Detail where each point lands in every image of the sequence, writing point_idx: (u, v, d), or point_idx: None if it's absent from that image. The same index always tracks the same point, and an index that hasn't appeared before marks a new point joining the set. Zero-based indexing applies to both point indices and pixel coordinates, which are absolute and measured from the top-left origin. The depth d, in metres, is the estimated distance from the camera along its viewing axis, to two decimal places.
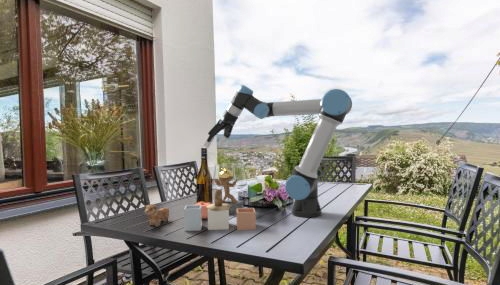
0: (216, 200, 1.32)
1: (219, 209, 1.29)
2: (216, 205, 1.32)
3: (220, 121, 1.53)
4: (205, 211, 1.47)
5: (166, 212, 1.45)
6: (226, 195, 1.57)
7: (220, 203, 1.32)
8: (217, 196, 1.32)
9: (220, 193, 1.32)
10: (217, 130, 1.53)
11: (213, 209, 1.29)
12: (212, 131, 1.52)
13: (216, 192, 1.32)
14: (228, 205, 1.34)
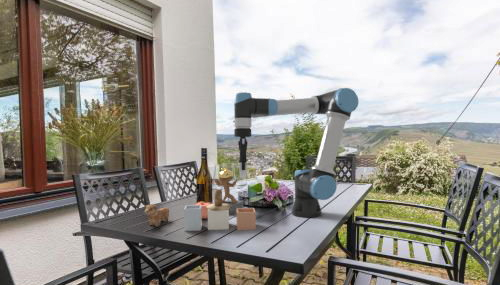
0: (216, 200, 1.32)
1: (219, 209, 1.29)
2: (216, 205, 1.32)
3: (242, 140, 1.27)
4: (205, 211, 1.47)
5: (166, 212, 1.45)
6: (226, 195, 1.57)
7: (220, 203, 1.32)
8: (217, 196, 1.32)
9: (220, 193, 1.32)
10: None
11: (213, 209, 1.29)
12: (243, 155, 1.24)
13: (216, 192, 1.32)
14: (228, 205, 1.34)
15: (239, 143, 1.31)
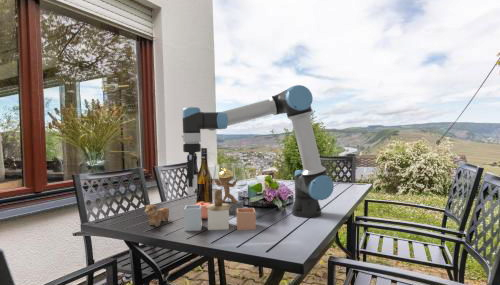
0: (216, 200, 1.32)
1: (219, 209, 1.29)
2: (216, 205, 1.32)
3: (190, 157, 1.25)
4: (205, 211, 1.47)
5: (166, 212, 1.45)
6: (226, 195, 1.57)
7: (220, 203, 1.32)
8: (217, 196, 1.32)
9: (220, 193, 1.32)
10: (193, 168, 1.24)
11: (213, 209, 1.29)
12: (190, 172, 1.22)
13: (216, 192, 1.32)
14: (228, 205, 1.34)
15: (188, 159, 1.29)
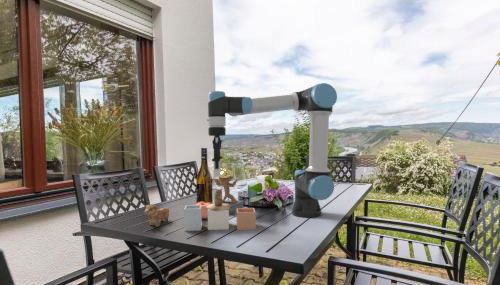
0: (216, 200, 1.32)
1: (219, 209, 1.29)
2: (216, 205, 1.32)
3: (216, 139, 1.26)
4: (205, 211, 1.47)
5: (166, 212, 1.45)
6: (226, 195, 1.57)
7: (220, 203, 1.32)
8: (217, 196, 1.32)
9: (220, 193, 1.32)
10: (219, 150, 1.26)
11: (213, 209, 1.29)
12: (216, 154, 1.24)
13: (216, 192, 1.32)
14: (228, 205, 1.34)
15: (213, 142, 1.31)
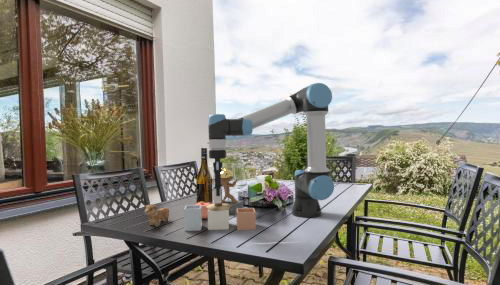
0: None
1: (219, 209, 1.29)
2: (216, 205, 1.32)
3: (217, 167, 1.27)
4: (205, 211, 1.47)
5: (166, 212, 1.45)
6: (226, 195, 1.57)
7: (220, 203, 1.32)
8: None
9: None
10: None
11: (213, 209, 1.29)
12: (217, 182, 1.28)
13: None
14: (228, 205, 1.34)
15: (214, 166, 1.31)
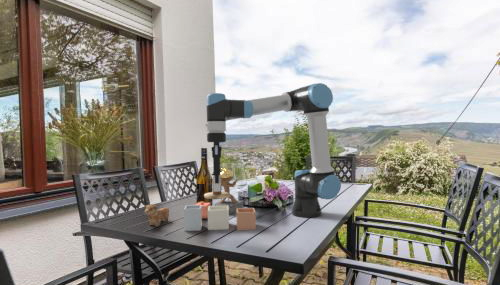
0: None
1: (218, 197, 1.17)
2: (215, 193, 1.20)
3: (215, 151, 1.15)
4: (205, 211, 1.47)
5: (166, 212, 1.45)
6: None
7: None
8: None
9: None
10: (219, 162, 1.17)
11: (211, 197, 1.17)
12: (216, 168, 1.16)
13: None
14: (228, 193, 1.22)
15: (212, 150, 1.19)
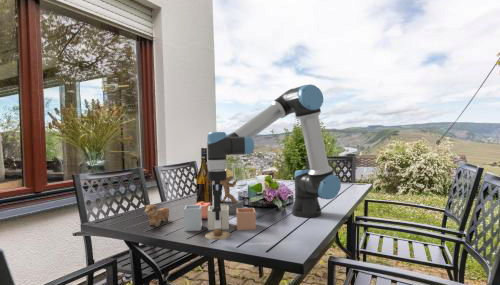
0: (215, 229, 1.20)
1: None
2: (216, 235, 1.20)
3: (216, 187, 1.15)
4: (205, 211, 1.47)
5: (166, 212, 1.45)
6: (226, 195, 1.57)
7: (220, 232, 1.21)
8: None
9: None
10: (220, 199, 1.14)
11: None
12: (217, 204, 1.12)
13: None
14: (229, 234, 1.22)
15: (213, 188, 1.19)
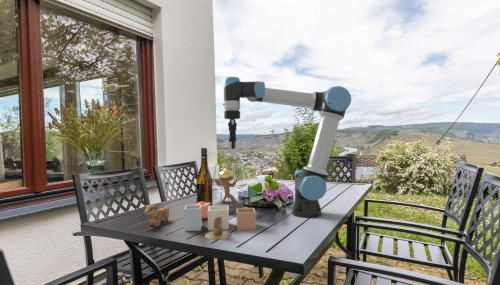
0: (216, 229, 1.20)
1: None
2: (216, 234, 1.20)
3: (232, 121, 1.36)
4: (205, 211, 1.47)
5: (166, 212, 1.45)
6: (226, 195, 1.57)
7: (220, 232, 1.21)
8: (217, 225, 1.20)
9: (220, 221, 1.21)
10: (235, 131, 1.36)
11: None
12: (233, 134, 1.34)
13: (216, 220, 1.20)
14: (229, 233, 1.22)
15: (229, 124, 1.40)
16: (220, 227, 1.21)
